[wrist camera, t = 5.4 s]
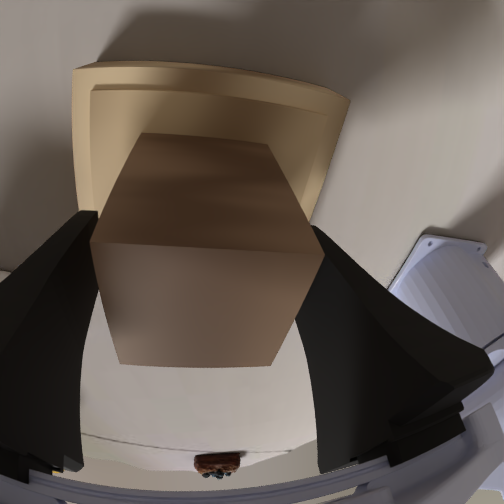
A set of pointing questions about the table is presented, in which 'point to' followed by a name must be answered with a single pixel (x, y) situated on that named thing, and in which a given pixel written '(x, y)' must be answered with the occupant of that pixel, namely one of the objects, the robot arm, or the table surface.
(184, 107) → the oak base
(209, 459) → the pastry
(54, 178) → the table surface
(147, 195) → the walnut block
